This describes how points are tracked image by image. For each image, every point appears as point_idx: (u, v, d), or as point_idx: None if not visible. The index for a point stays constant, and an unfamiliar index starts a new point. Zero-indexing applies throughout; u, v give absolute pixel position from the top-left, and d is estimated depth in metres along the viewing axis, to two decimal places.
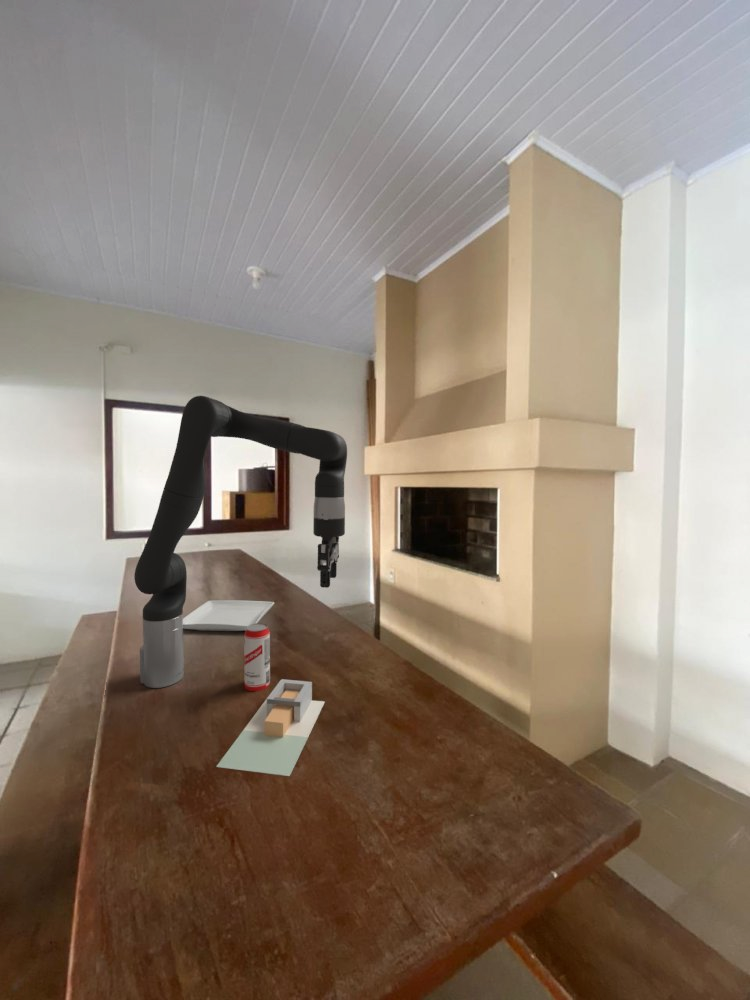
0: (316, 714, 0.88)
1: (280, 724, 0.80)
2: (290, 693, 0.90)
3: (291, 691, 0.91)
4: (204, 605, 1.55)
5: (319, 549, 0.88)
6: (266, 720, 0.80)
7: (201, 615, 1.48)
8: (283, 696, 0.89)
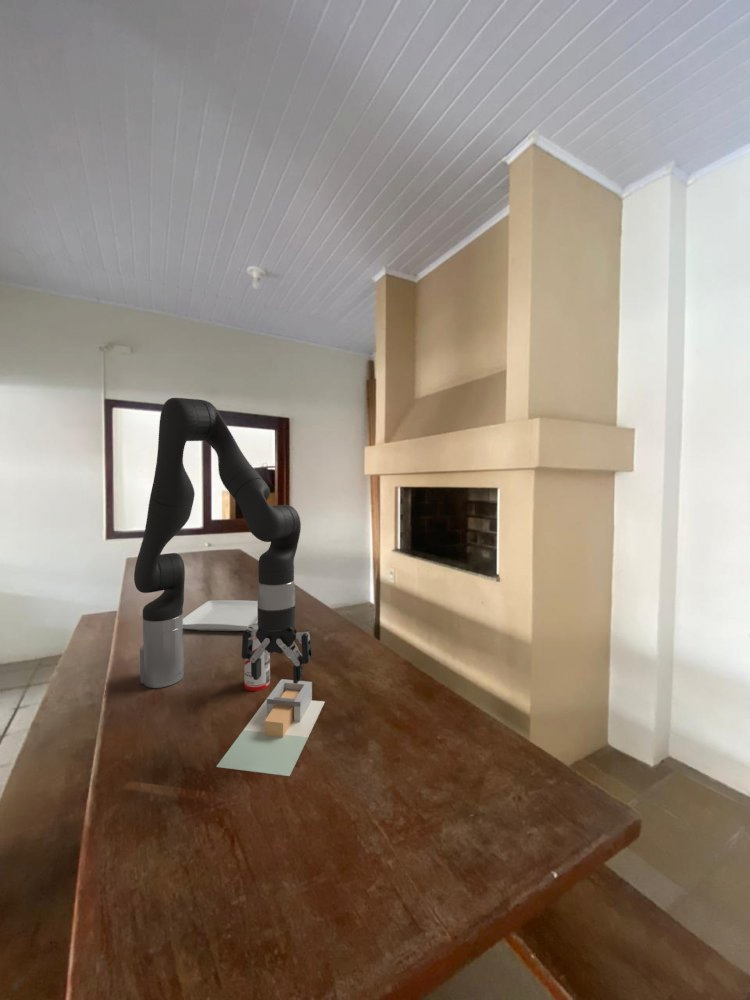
0: (316, 714, 0.88)
1: (280, 724, 0.80)
2: (290, 693, 0.90)
3: (291, 691, 0.91)
4: (204, 605, 1.55)
5: (307, 639, 0.79)
6: (266, 720, 0.80)
7: (201, 615, 1.48)
8: (283, 696, 0.89)
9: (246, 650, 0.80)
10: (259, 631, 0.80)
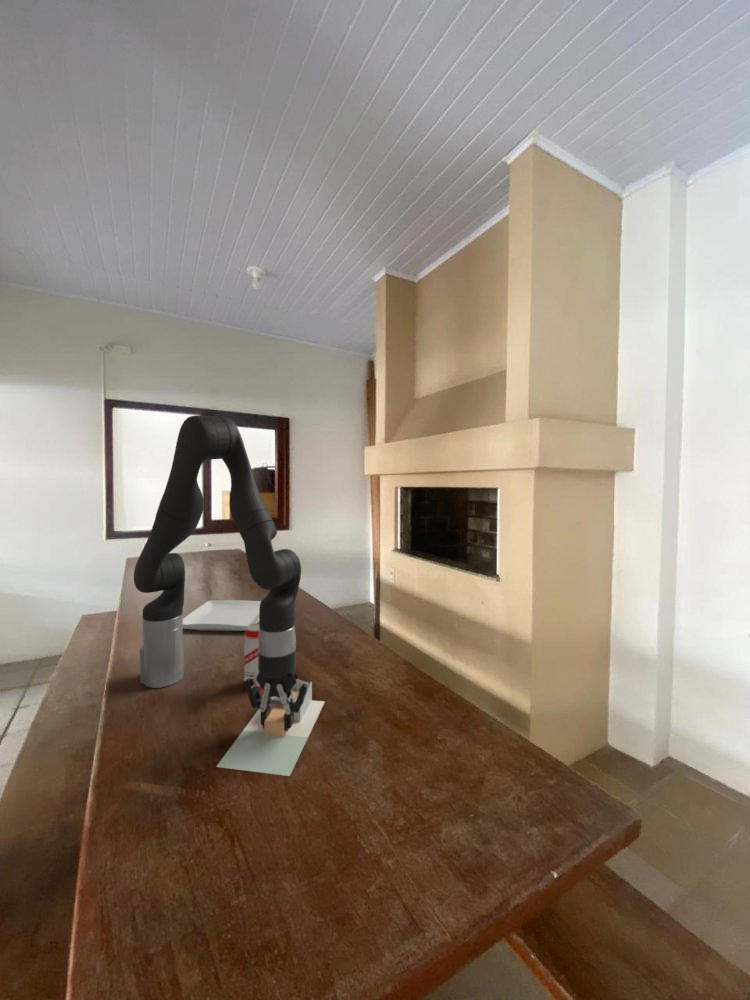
0: (316, 714, 0.88)
1: (280, 724, 0.80)
2: None
3: None
4: (204, 605, 1.55)
5: (305, 691, 0.80)
6: (266, 720, 0.80)
7: (201, 615, 1.48)
8: None
9: (253, 699, 0.81)
10: (258, 676, 0.81)
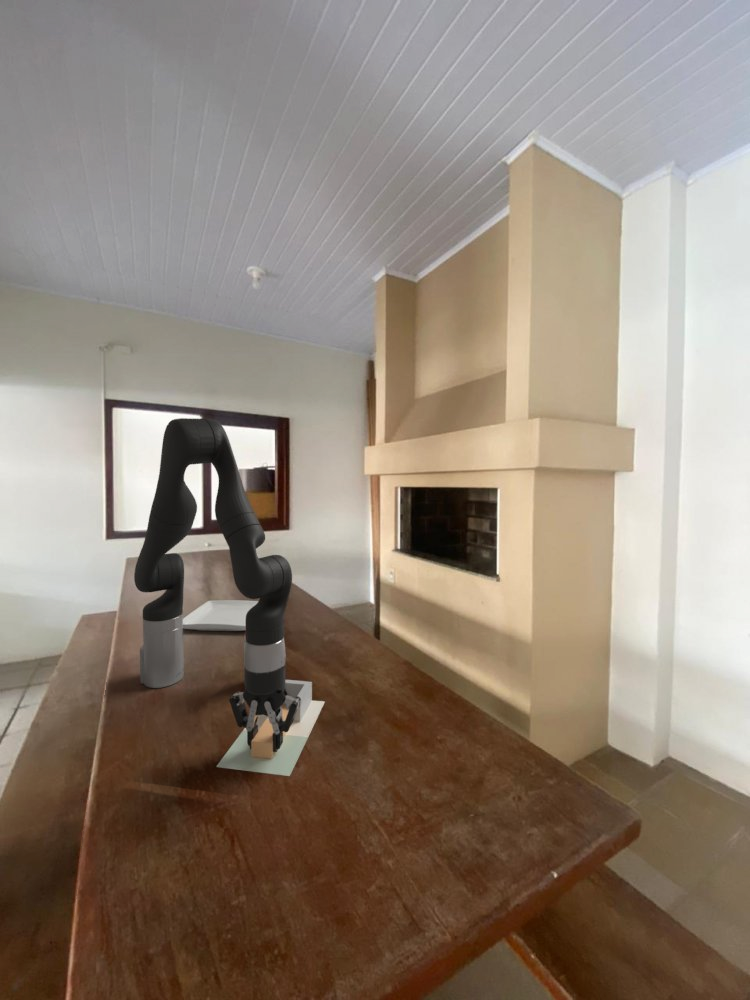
0: (316, 714, 0.88)
1: (268, 745, 0.74)
2: None
3: (281, 706, 0.85)
4: (204, 605, 1.55)
5: (296, 709, 0.73)
6: (253, 740, 0.74)
7: (201, 615, 1.48)
8: None
9: (239, 717, 0.75)
10: (245, 692, 0.74)
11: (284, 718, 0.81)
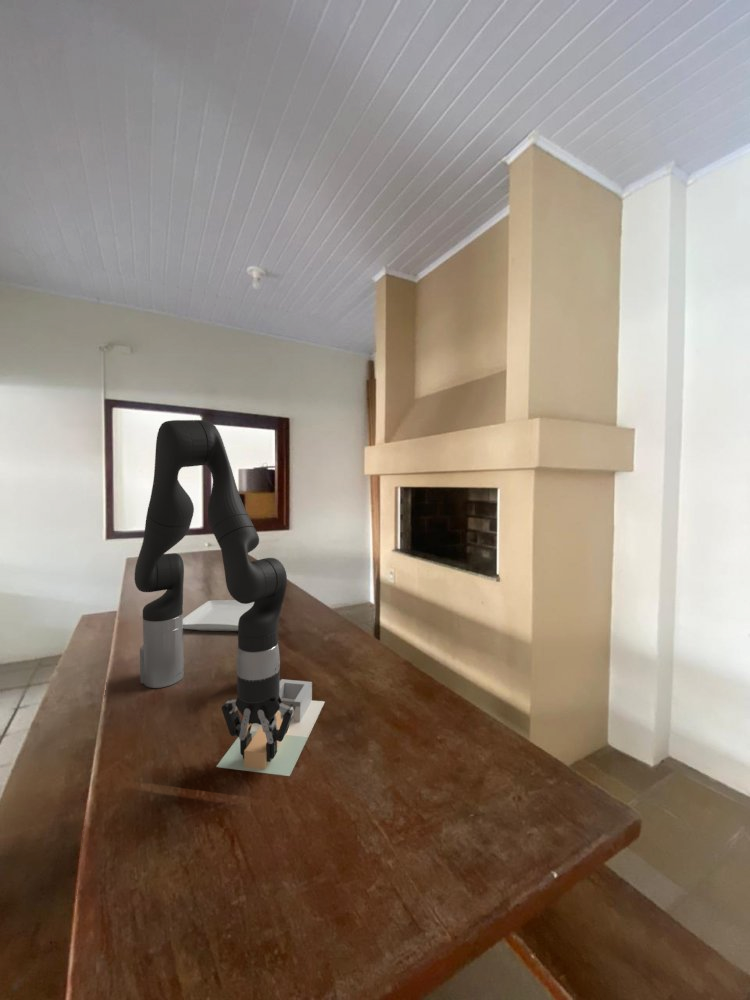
0: (316, 714, 0.88)
1: (262, 755, 0.71)
2: None
3: (276, 713, 0.83)
4: (204, 605, 1.55)
5: (290, 718, 0.71)
6: (246, 750, 0.72)
7: (201, 615, 1.48)
8: None
9: (232, 726, 0.72)
10: (237, 700, 0.72)
11: (279, 726, 0.79)
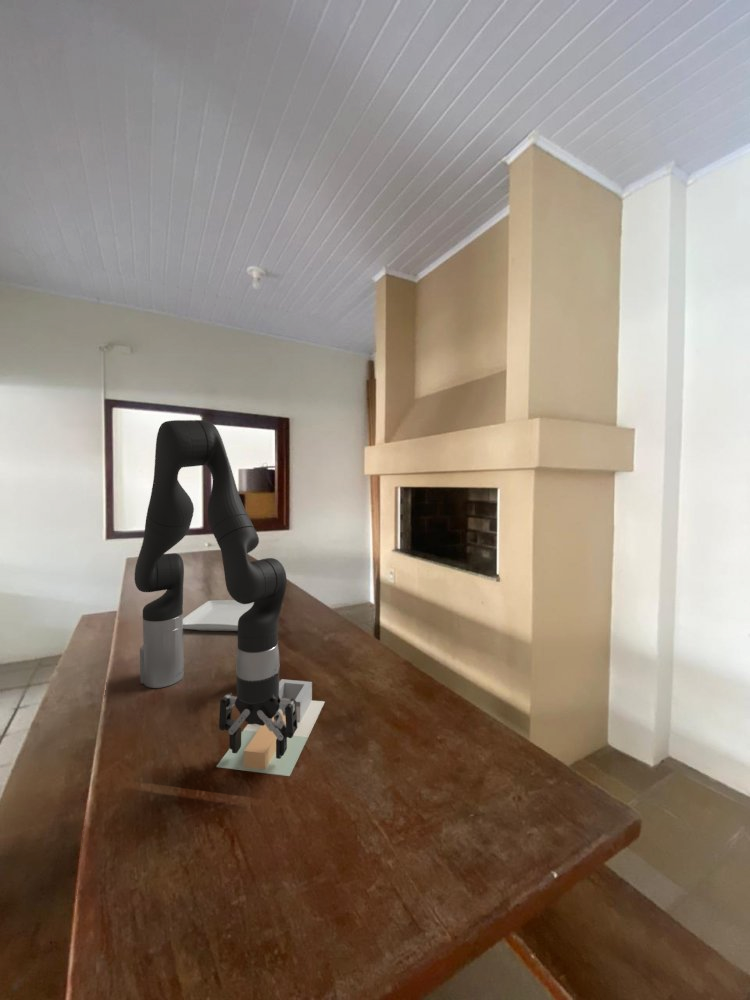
0: (316, 714, 0.88)
1: (262, 755, 0.71)
2: None
3: None
4: (204, 605, 1.55)
5: (292, 711, 0.71)
6: (246, 750, 0.72)
7: (201, 615, 1.48)
8: None
9: (224, 721, 0.72)
10: (238, 700, 0.72)
11: None
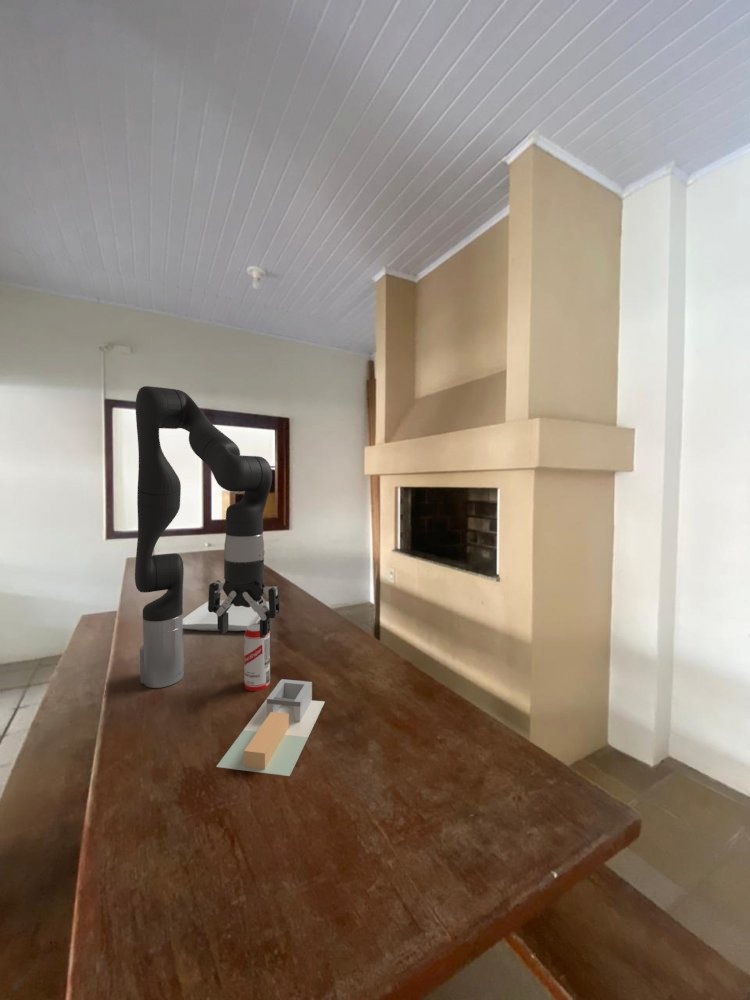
0: (316, 714, 0.88)
1: (262, 755, 0.71)
2: (275, 717, 0.82)
3: (276, 714, 0.83)
4: (204, 605, 1.55)
5: (275, 593, 0.77)
6: (246, 750, 0.72)
7: (201, 615, 1.48)
8: (267, 720, 0.81)
9: (212, 603, 0.79)
10: (226, 584, 0.78)
11: (279, 726, 0.79)
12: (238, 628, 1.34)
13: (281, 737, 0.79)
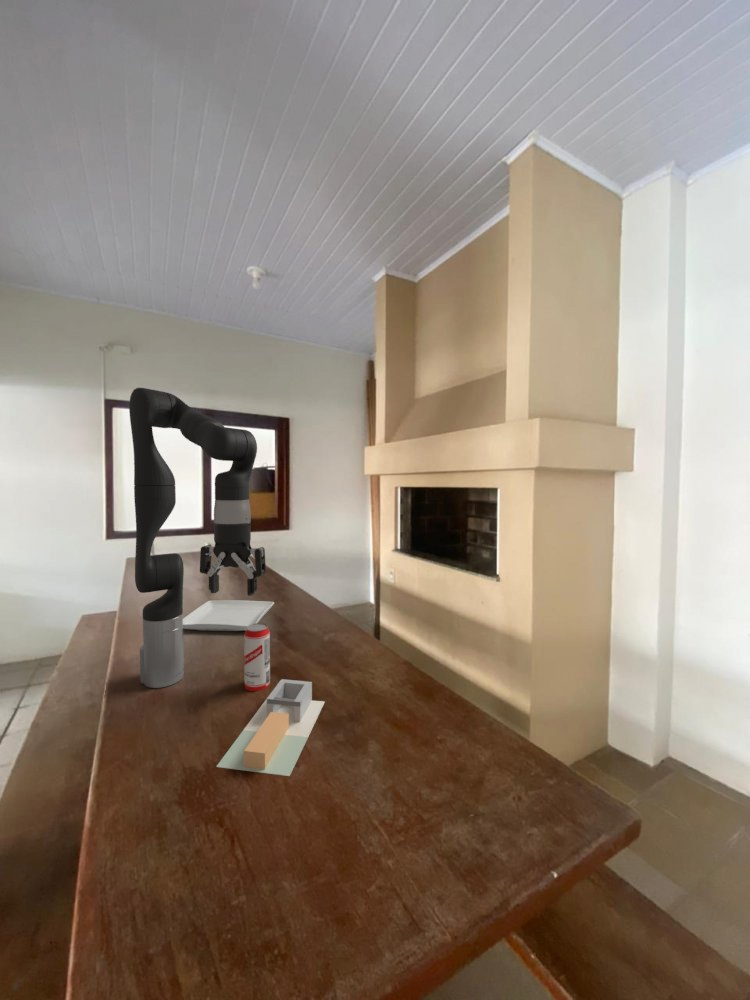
0: (316, 714, 0.88)
1: (262, 755, 0.71)
2: (275, 717, 0.82)
3: (276, 714, 0.83)
4: (204, 605, 1.55)
5: (260, 553, 0.84)
6: (246, 750, 0.72)
7: (201, 615, 1.48)
8: (267, 720, 0.81)
9: (204, 565, 0.86)
10: (216, 546, 0.85)
11: (279, 726, 0.79)
12: (238, 628, 1.34)
13: (281, 737, 0.79)
